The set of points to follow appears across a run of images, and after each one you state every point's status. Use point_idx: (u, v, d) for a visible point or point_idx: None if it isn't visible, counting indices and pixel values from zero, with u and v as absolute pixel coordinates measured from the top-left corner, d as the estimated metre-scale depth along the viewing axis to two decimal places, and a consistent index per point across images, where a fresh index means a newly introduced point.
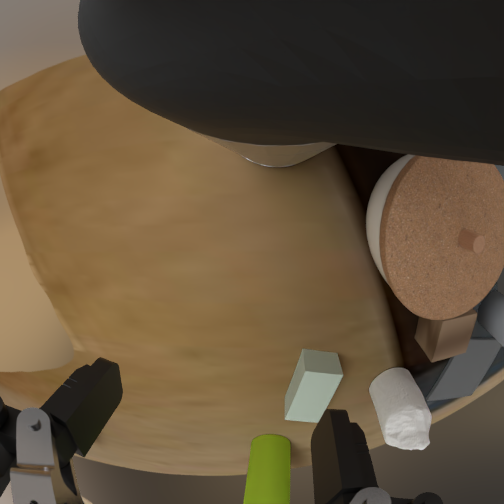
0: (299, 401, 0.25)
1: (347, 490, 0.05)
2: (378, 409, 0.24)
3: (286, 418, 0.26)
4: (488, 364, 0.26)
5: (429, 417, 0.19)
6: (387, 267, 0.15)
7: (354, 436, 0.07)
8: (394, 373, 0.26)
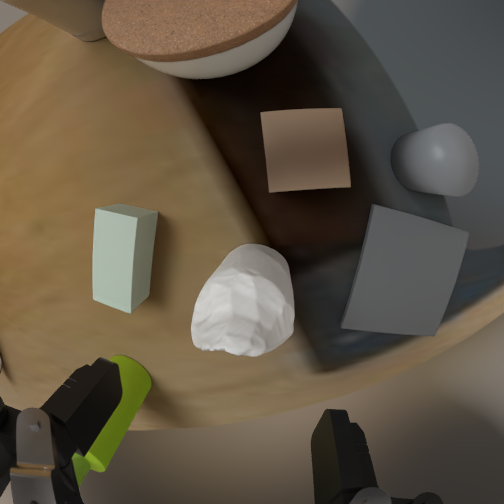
0: (98, 263, 0.19)
1: (347, 490, 0.05)
2: None
3: (94, 297, 0.20)
4: (451, 276, 0.20)
5: (277, 299, 0.14)
6: (102, 25, 0.10)
7: (354, 436, 0.07)
8: (244, 246, 0.21)
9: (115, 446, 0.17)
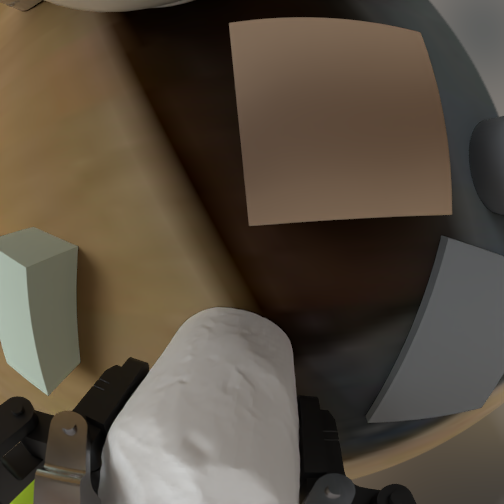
0: (0, 321, 0.09)
1: (311, 474, 0.05)
2: None
3: (7, 360, 0.10)
4: None
5: None
6: None
7: (324, 423, 0.08)
8: (208, 318, 0.10)
9: None
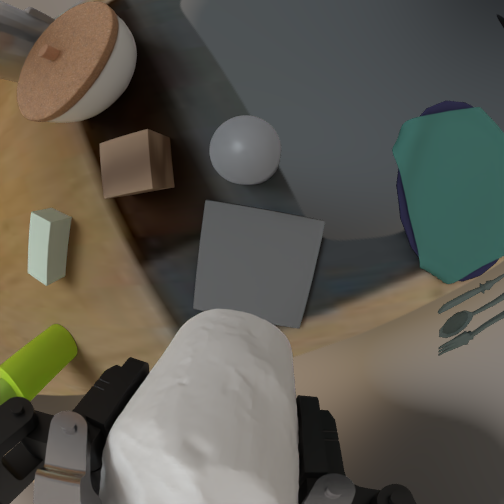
0: (31, 248, 0.24)
1: (311, 474, 0.05)
2: None
3: (28, 271, 0.25)
4: (306, 267, 0.25)
5: None
6: (17, 96, 0.15)
7: (324, 423, 0.08)
8: (208, 320, 0.10)
9: (36, 386, 0.22)
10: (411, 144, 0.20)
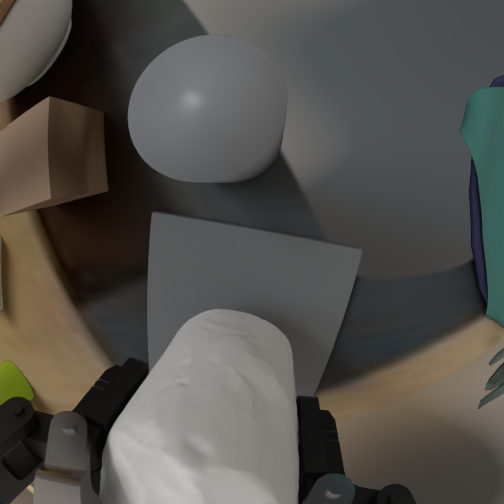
0: None
1: (311, 474, 0.05)
2: None
3: None
4: (325, 325, 0.14)
5: None
6: None
7: (324, 423, 0.08)
8: (208, 320, 0.10)
9: None
10: (487, 127, 0.09)
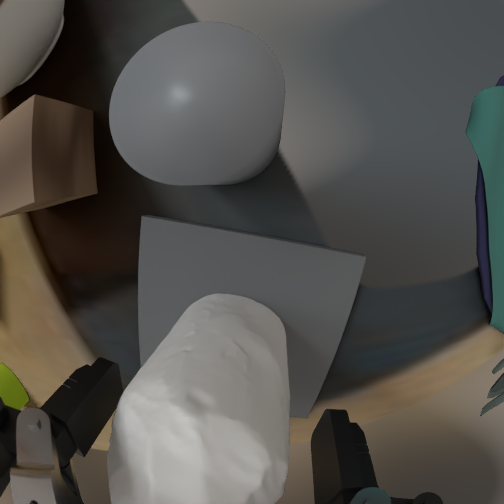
0: None
1: (347, 490, 0.05)
2: None
3: None
4: (326, 336, 0.13)
5: (251, 462, 0.05)
6: None
7: (354, 436, 0.07)
8: (209, 302, 0.12)
9: None
10: (494, 128, 0.08)
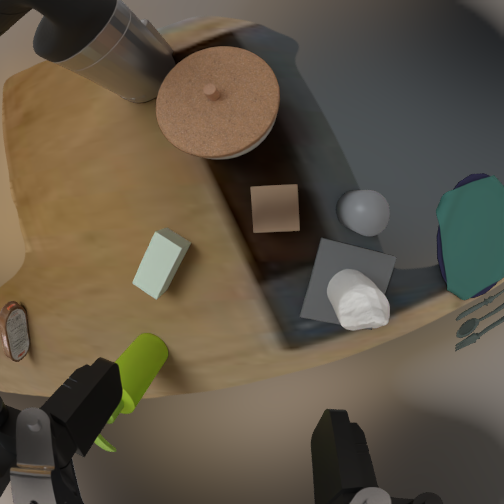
0: (145, 263, 0.33)
1: (347, 490, 0.05)
2: (333, 300, 0.30)
3: (133, 282, 0.33)
4: (381, 287, 0.34)
5: (385, 300, 0.26)
6: (157, 120, 0.24)
7: (354, 436, 0.07)
8: (348, 271, 0.33)
9: (142, 393, 0.30)
10: (448, 209, 0.29)
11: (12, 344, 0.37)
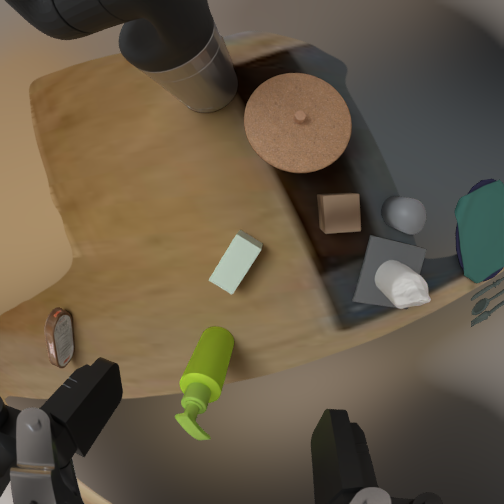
0: (224, 262, 0.38)
1: (347, 490, 0.05)
2: (384, 285, 0.36)
3: (210, 279, 0.39)
4: None
5: (425, 283, 0.31)
6: (247, 137, 0.29)
7: (354, 436, 0.07)
8: (392, 261, 0.38)
9: None
10: (464, 210, 0.35)
11: (59, 351, 0.44)
